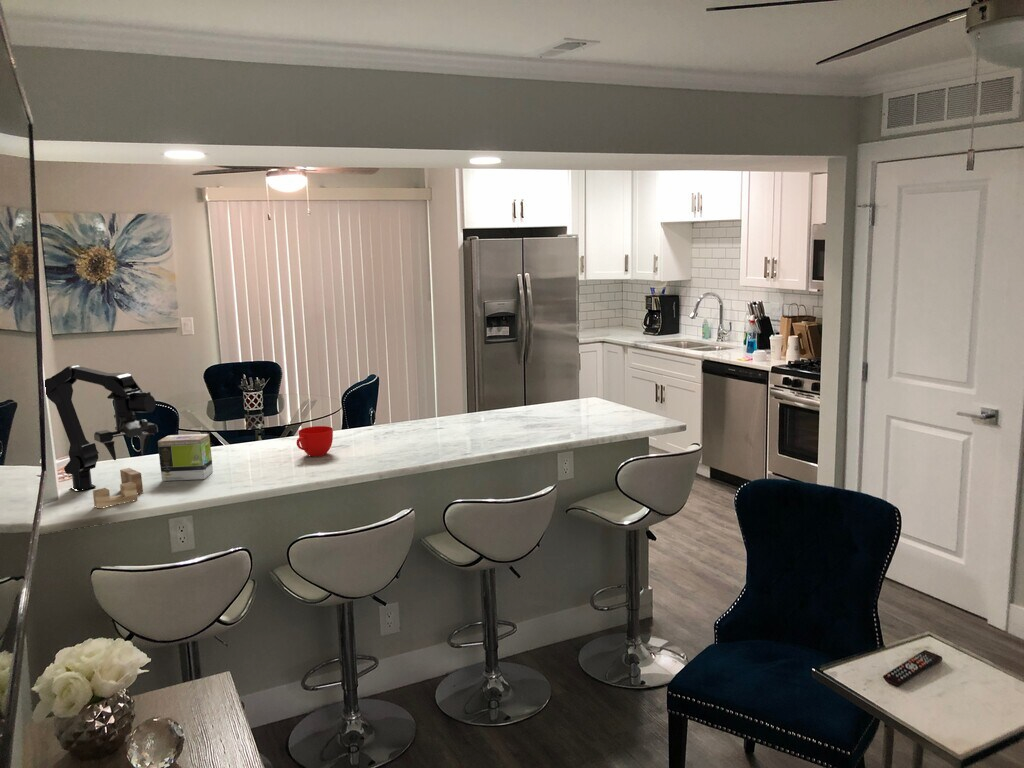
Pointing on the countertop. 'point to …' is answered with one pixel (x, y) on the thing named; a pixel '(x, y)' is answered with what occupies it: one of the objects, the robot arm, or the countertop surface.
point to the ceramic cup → (315, 440)
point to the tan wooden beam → (132, 478)
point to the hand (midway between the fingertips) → (129, 457)
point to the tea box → (185, 457)
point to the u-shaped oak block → (104, 498)
